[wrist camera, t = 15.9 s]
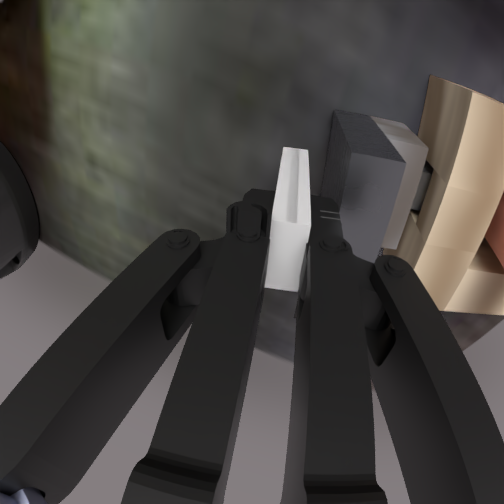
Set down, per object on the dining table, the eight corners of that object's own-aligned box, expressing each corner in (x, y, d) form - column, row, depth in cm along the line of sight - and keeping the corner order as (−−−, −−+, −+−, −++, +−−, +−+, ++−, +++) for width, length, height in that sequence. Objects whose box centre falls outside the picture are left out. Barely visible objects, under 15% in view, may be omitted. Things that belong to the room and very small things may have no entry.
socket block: (340, 245, 21) (346, 301, 17) (378, 60, 13) (407, 69, 9) (507, 271, 19) (531, 316, 15) (564, 137, 12) (608, 169, 8)
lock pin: (319, 200, 19) (323, 277, 13) (333, 109, 15) (351, 152, 10) (443, 221, 18) (481, 295, 13) (469, 142, 14) (531, 199, 9)
